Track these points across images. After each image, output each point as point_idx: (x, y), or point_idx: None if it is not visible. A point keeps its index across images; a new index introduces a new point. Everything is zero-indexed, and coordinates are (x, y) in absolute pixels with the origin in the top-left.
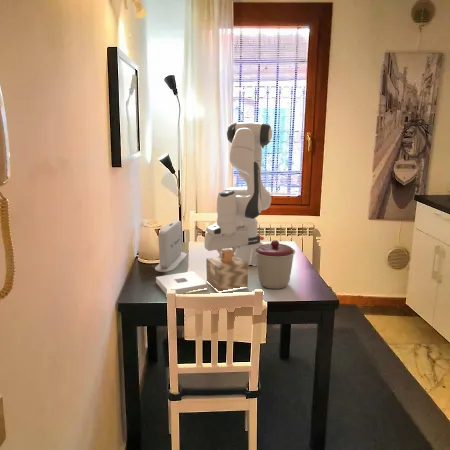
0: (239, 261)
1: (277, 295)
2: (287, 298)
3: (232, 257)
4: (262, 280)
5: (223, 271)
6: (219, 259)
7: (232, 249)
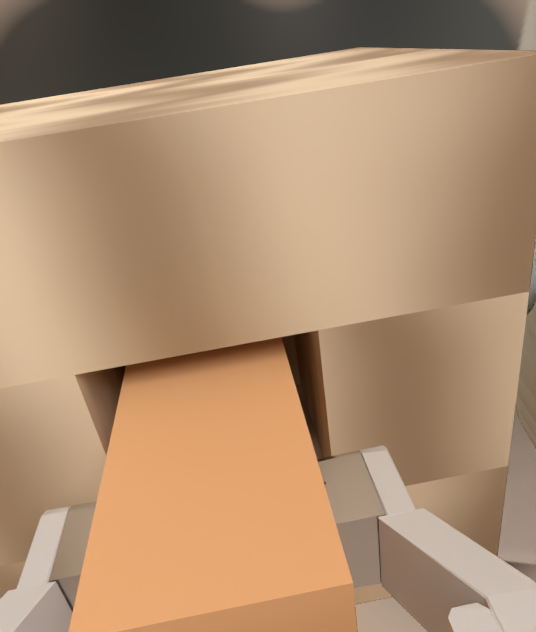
0: (419, 504)
1: (506, 496)
2: (531, 537)
3: (403, 287)
4: (527, 420)
5: None
6: (78, 352)
7: (446, 573)
